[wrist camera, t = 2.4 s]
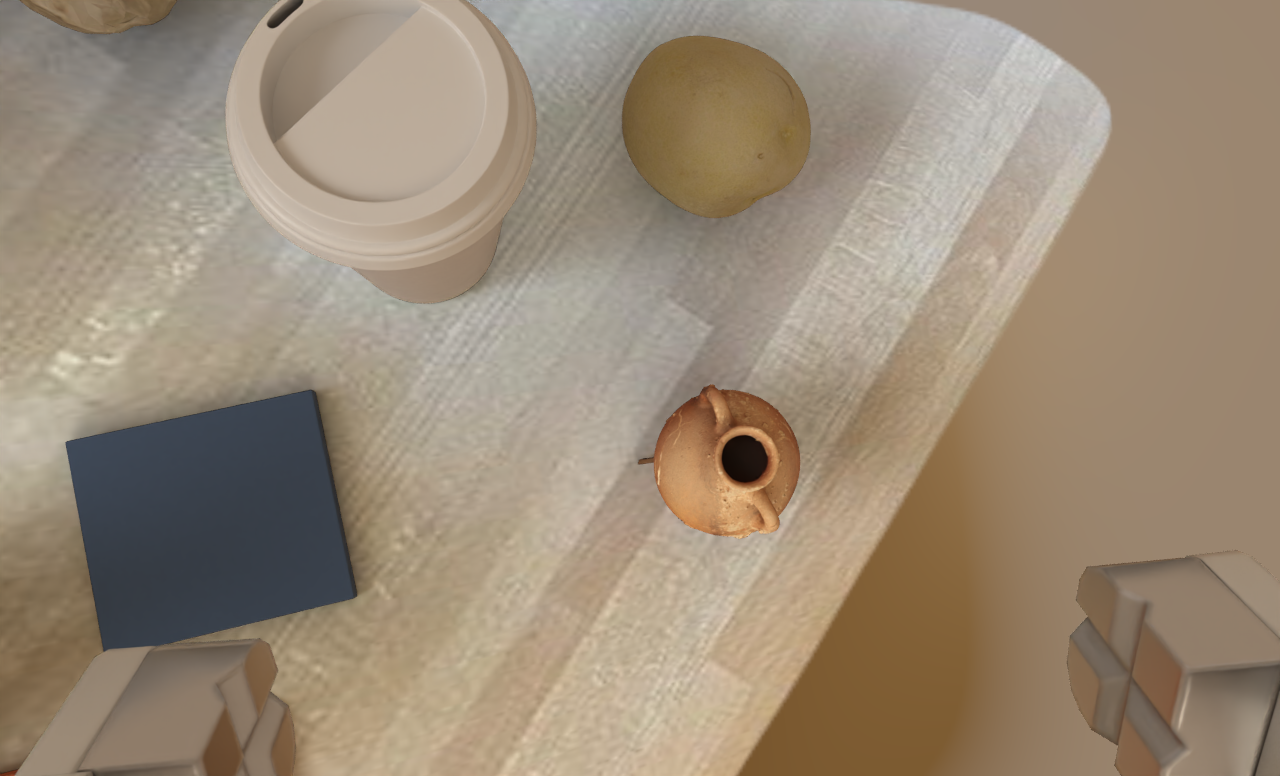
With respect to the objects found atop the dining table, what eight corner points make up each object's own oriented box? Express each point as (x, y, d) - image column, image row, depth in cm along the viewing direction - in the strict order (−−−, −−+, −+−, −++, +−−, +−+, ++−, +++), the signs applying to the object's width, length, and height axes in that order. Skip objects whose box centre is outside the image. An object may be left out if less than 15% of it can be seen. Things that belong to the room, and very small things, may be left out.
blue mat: (73, 442, 40) (64, 441, 40) (315, 391, 42) (311, 389, 41) (112, 655, 40) (104, 659, 39) (357, 596, 41) (354, 598, 40)
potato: (697, 273, 45) (736, 225, 37) (580, 149, 45) (593, 74, 37) (810, 168, 46) (871, 100, 38) (697, 47, 46) (734, -46, 38)
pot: (674, 379, 44) (613, 504, 43) (718, 335, 37) (646, 486, 35) (786, 438, 45) (730, 564, 43) (854, 406, 37) (788, 559, 35)
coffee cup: (479, 98, 44) (457, -102, 29) (566, 286, 44) (589, 179, 29) (279, 177, 43) (151, 7, 28) (367, 372, 42) (284, 305, 27)
